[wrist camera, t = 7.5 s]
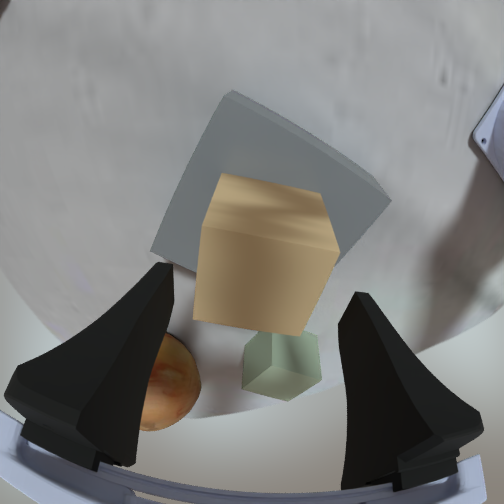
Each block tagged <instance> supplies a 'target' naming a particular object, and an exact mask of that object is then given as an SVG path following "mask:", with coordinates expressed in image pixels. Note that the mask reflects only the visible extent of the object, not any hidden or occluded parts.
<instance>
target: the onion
mask: <svg viewBox="0 0 504 504" xmlns="http://www.w3.org/2000/svg"><path fill="white" fill-rule="evenodd" d="M200 391H201V381H200V375H199V371H198V369H197V366H196V362H195V360H194V358H193V357H192V355H191V354H190V352H189V351H188V350H187V348H186V347H185V346H184V345H183V344H182V343H181V342H180V341H178V340H177V339H176V338H174V337H173V336H171V335H170V334H167V333H165V336H164V338H163V341H162V344H161V346H160V349H159V352H158V355H157V357H156V360H155V363H154V366H153V369H152V372H151V375H150V379H149V383H148V387H147V392H146V397H145V401H144V407H143V412H142V417H141V423H140V430H142V431H157V430H161V429H164V428H167V427H169V426H171V425H173V424H175V423H176V422H178V421H179V420H181V419H182V418H183V417H184V416H185V415H186V414H188V413H189V412H190V410H191V409H192V407H193V406H194V404H195V402H196V401H197V399H198V397H199V394H200Z"/></svg>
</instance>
